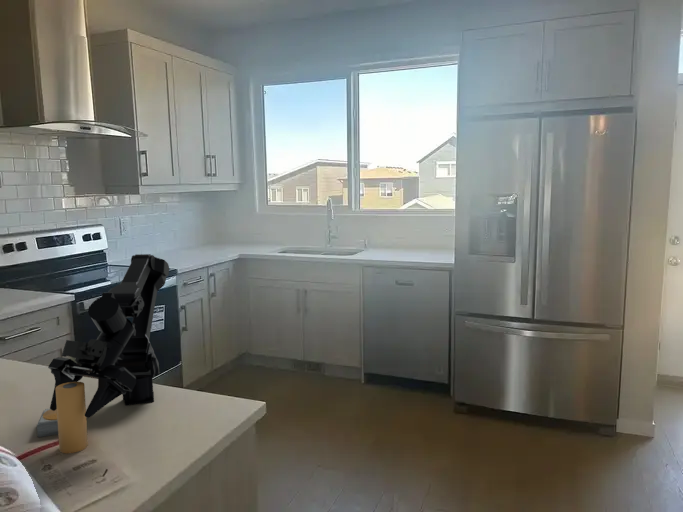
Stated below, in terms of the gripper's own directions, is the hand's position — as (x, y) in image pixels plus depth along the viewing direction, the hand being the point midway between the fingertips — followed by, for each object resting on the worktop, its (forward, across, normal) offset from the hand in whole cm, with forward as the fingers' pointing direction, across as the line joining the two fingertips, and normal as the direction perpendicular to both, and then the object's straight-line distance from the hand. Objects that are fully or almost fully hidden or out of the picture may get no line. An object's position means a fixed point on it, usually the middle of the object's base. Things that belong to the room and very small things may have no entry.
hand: (68, 413), depth 101 cm
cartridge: (+5, 0, +6) cm, 7 cm away
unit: (0, -10, +10) cm, 14 cm away
